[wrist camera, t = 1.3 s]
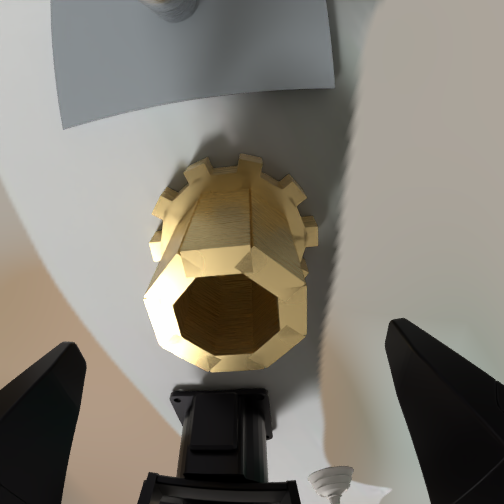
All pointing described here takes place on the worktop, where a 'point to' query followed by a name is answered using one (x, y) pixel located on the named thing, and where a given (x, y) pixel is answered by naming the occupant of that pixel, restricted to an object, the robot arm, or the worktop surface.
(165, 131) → the worktop surface
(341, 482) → the chalice
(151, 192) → the worktop surface
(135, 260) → the worktop surface
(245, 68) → the plate
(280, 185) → the planet gear
